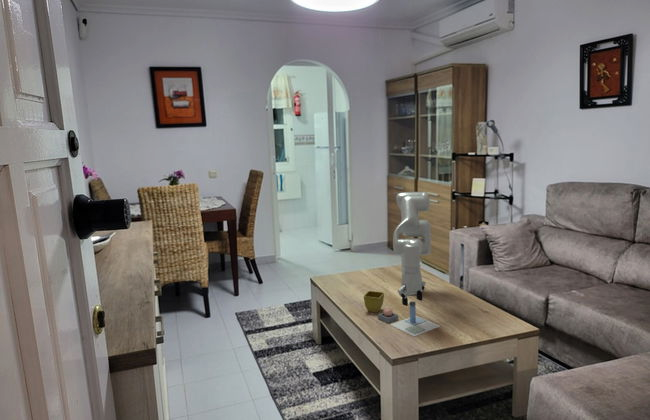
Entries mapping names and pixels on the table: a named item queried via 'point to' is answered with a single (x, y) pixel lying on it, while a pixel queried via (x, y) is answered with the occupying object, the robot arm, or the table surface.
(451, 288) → the table surface
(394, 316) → the button collar
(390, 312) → the button
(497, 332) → the table surface
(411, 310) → the cylinder
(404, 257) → the robot arm
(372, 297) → the flower pot
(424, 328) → the sheet
